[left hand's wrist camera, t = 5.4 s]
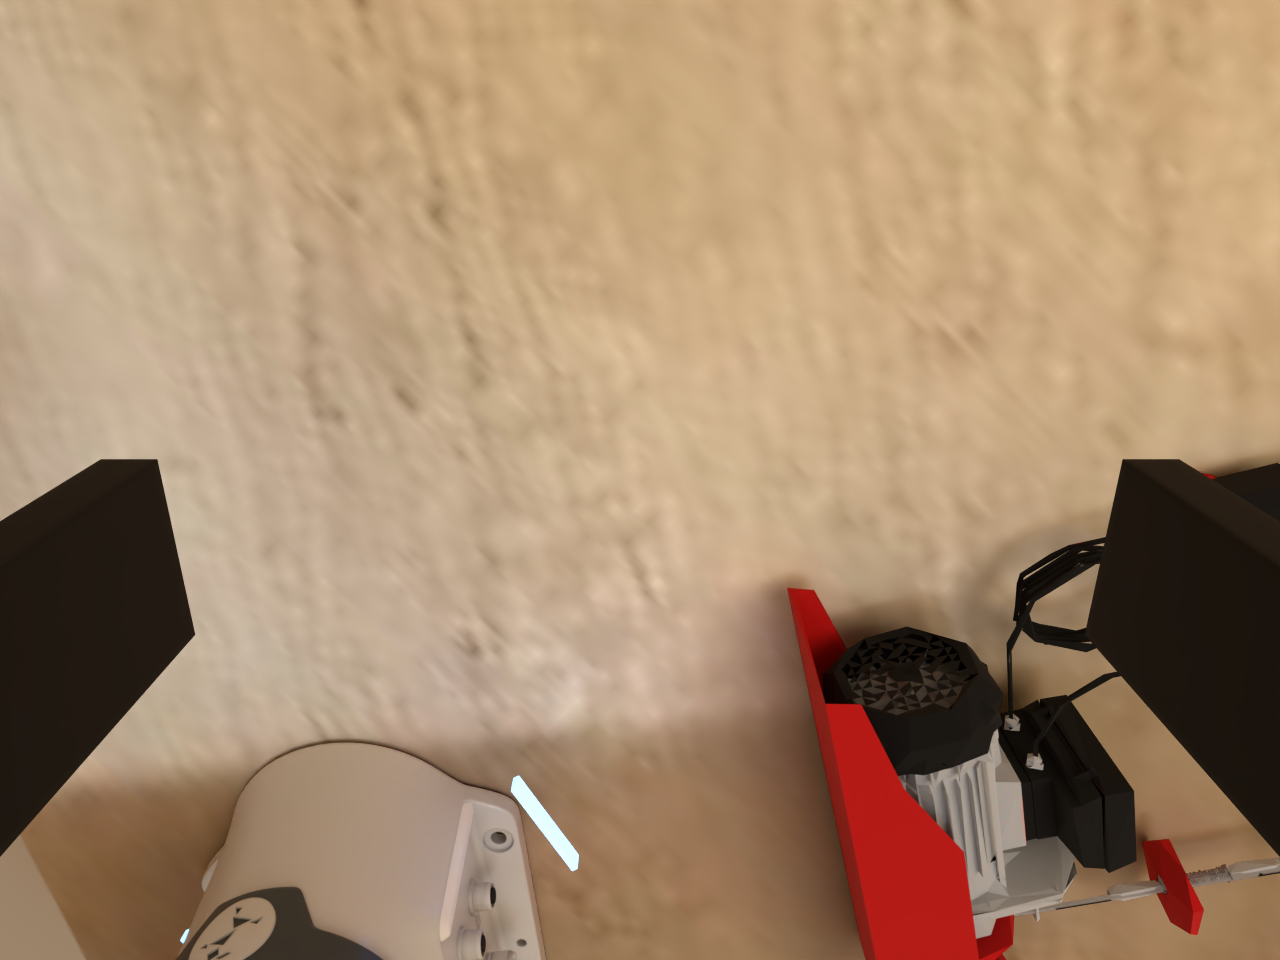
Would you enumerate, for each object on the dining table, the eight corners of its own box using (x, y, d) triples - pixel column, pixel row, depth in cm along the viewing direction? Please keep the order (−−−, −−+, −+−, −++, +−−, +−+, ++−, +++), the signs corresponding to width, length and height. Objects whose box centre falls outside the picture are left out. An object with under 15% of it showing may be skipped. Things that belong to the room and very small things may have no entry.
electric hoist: (1651, 521, 32) (821, 693, 34) (1526, 999, 42) (904, 1102, 45) (1419, 421, 41) (780, 562, 43) (1366, 835, 51) (856, 928, 54)
